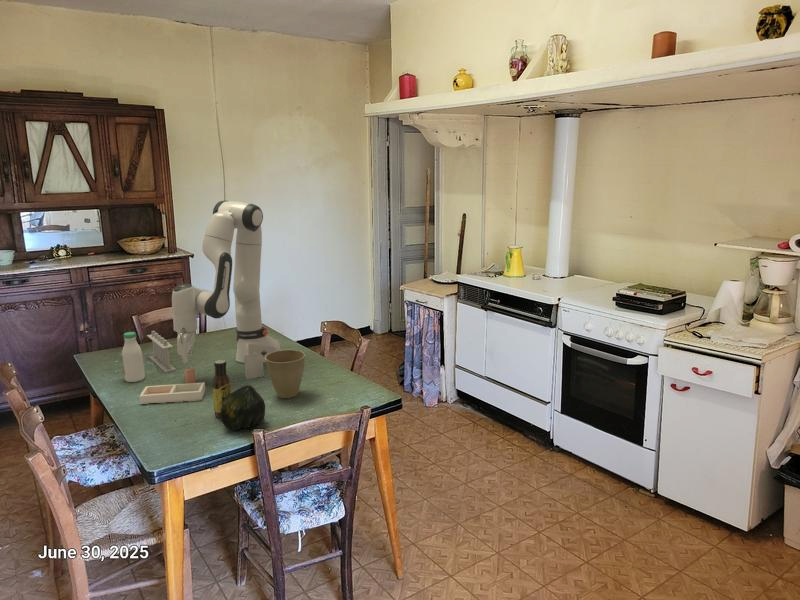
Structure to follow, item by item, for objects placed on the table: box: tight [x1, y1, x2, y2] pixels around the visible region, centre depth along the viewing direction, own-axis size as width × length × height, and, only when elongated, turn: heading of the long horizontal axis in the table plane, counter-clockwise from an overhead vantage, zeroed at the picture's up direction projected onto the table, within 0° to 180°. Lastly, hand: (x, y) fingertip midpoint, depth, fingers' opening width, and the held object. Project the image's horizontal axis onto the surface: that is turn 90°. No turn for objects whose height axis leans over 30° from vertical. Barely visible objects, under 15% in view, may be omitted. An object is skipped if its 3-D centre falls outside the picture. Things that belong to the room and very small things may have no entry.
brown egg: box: [184, 367, 197, 384], centre depth 246 cm, size 4×4×6 cm
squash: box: [220, 384, 266, 431], centre depth 207 cm, size 14×15×15 cm
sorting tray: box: [138, 381, 206, 405], centre depth 232 cm, size 22×10×4 cm, turn 99°
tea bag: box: [243, 353, 265, 380], centre depth 252 cm, size 4×7×10 cm, turn 121°
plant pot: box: [265, 349, 306, 399], centre depth 232 cm, size 15×15×16 cm
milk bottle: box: [121, 331, 146, 383], centre depth 250 cm, size 8×8×20 cm
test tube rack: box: [146, 330, 177, 374], centre depth 270 cm, size 25×4×13 cm, turn 37°
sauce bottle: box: [211, 359, 232, 418], centre depth 214 cm, size 6×6×20 cm
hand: (187, 358), depth 244 cm, fingers open, 8 cm apart
